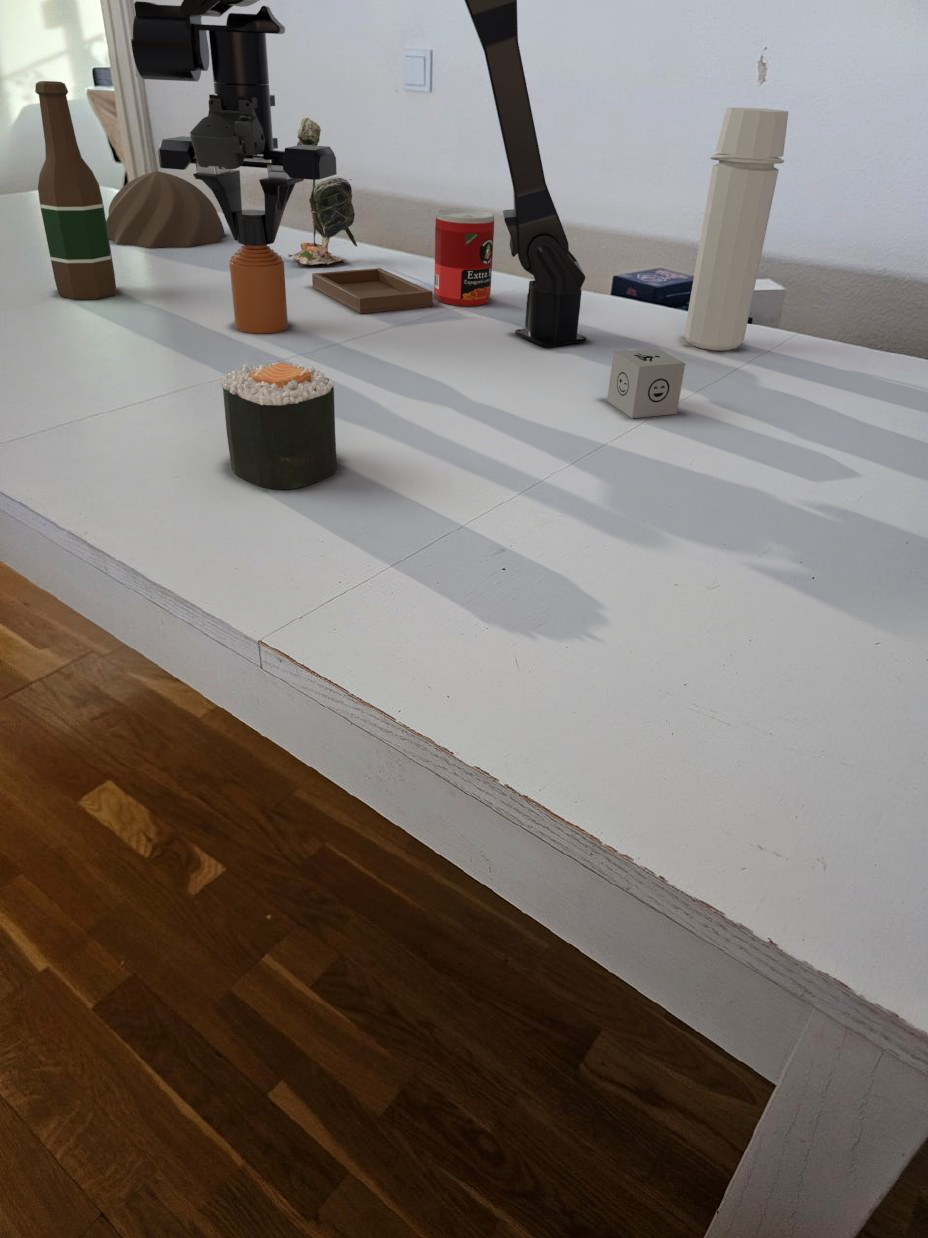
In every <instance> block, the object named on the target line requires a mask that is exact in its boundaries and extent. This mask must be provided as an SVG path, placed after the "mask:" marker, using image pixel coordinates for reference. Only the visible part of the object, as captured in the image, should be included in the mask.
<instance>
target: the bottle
mask: <svg viewBox="0 0 928 1238" xmlns="http://www.w3.org/2000/svg"><path fill="white" fill-rule="evenodd" d="M228 263H229V264H228V265H229V275H230V284H231V293H232V294H231V296H232V305H233V315H234V326H235V329H236V330H237V331H240V332H242V333H248V334H263V335H264V334H274V333H278V332H282V331H285V330H286V329H288V327H289V324H288V323H289V322H288V305H287V291H286V290H287V289H286V275H285V273H286V272H285V260H284V259H283V258H282V256H281V255H279V254H278V252H276V251H275V250H274V249H272V248H271V246H269V245H260V246H251V245H241V246H240V248H239V249H238V250H237V251H236V252H234V253H233V255H231V256H230V259H229V261H228Z"/></svg>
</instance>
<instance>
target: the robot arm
mask: <svg viewBox="0 0 928 1238" xmlns="http://www.w3.org/2000/svg"><path fill="white" fill-rule="evenodd" d="M463 1H464V4H465V6H466V8H467V11H468V14H469V17H470V20H471V22H472V24H473V27H474V29H475V32H476V35H477V38H478V40H479V42H480V45H481V47H482V51H483V53H484V58H485V62H486V67H487V72H488V77H489V82H490V88H491V91H492V95H493V100H494V105H495V110H496V114H497V119H498V125H499V128H500V133H501V139H502V143H503V147H504V151H505V157H506V162H507V165H508V171H509V175H510V180H511V184H512V191H513V192H512V196H513V208H512V209H504V210H502V216H503V221H504V223H505V226H506V228H507V230H508V233H509V236H510V238H509V249H510V254H511V257H513V258H515V257H516V256H517V257H518V260H519V263H520V265H521V267H522V268H523V270H524V271H526V272H527V273H529V275H532V276H533V279H534V280H529V282H528V292H527V295H526V307H525V320H524V321H525V322H524V326H525V328H518V329H514V334H515V335H516V336H519V337H520V338H523V339H525V340H528V341H529V342H532V343H534V344H536V345H538V346H540V347H542V348H543V347H544V348H548V347H557V346H564V345H571V344H578V343H585V342H587V341H588V337H587V336H585V335H583V334H581V333H578V330H579V320H580V311H581V302H582V301H581V300H582V294H583V293H582V291H583V290H582V287H583V285H584V283H585V280H586V275H585V273H584V271H583V269H582V267H581V265H580V263H579V261H578V260H577V258H576V257H575V256H574V255H573V253H572V252H571V251H570V250H569V249H570V247H569V240H568V237H567V235H566V232H565V230H564V227H563V224H562V222H561V219H560V216H559V214H558V211H557V208H556V206H555V203H554V201H553V198H552V196H551V193H550V191H549V188H548V184H547V182H546V178H545V172H544V167H543V162H542V157H541V151H540V147H539V142H538V137H537V131H536V126H535V121H534V116H533V111H532V106H531V100H530V96H529V90H528V85H527V80H526V76H525V70H524V64H523V60H522V55H521V49H520V44H519V33H518V31H519V30H518V25H519V24H518V0H463ZM258 2H260V0H182V2H181V4H180V5H171V4H159V3H155V2H149V1H135V2H134V4H133V6H134V12H135V13H134V14H135V16H134V19H133V24H132V38H131V39H130V41H131V42H130V44H131V50H132V56H133V60H134V64H135V67H136V71H137V72H138V75H139V76H140V78H141V79H143V80H152V81H153V80H156V81H176V82H177V81H178V82H199V81H200V78H201V75H202V72H207V71H209V67H210V59H211V68H212V69H211V71H212V80H213V89H214V90H213V91H214V94H213V93H212V94H208V112H207V113H208V114H207V116H205V117H203V118H202V119H201V120H200V121H199V122H198V123H197V124H196V125H195V126H194V127H193V128H192V129H191V130H190V132H189V136H175V137H169V138H162V139H161V141H160V143H159V146H158V149H157V154H158V164H159V168H161V169H168V170H179V171H180V170H181V171H184V170H185V171H186V170H187V168H188V167H189V166H190V165H191V164H194V165H195V171H196V173H193V174H192V175H193V177H194V179H195V180H200V181H202V182H203V183H204V184H205V185H206V186H207V188H209V189H210V191H211V192H212V193H213V195H214V197H215V199H216V200H217V203H218V205H219V207H220V210H221V212H222V214H223V216H224V218H225V221H226V224H227V225H228V228H229V230H230V232H231V235H232V237H233V239H234V241H235V242H238V240H237V233H236V222H235V217H236V215H235V212H236V211H239V210H243V207H242V189H241V188H242V187H241V171H240V170H239V168H241V167H243V168H244V167H246V168H259V169H267V175H268V176H267V177H264V178H260V179H259V180H258V181H259V184H260V187H261V189H262V192H263V195H264V197H263V198H264V211H265V230H266V237H267V243H268V245H272V244H274V243H275V241H276V238H277V235H278V231H279V228H280V226H281V222H282V219H283V215H284V212H285V210H286V207H287V204H288V202H289V199H290V197H291V195H292V193H293V191H294V188H295V186H296V184H298V183H302V182H303V181H305V180H308V181H309V180H311V181H313V180H315V181H317V180H323V179H326V178H329V177H333V176H337V174H338V173H337V157H336V154H335V152H334V151H333V149H332V148H331V147H330V146H328V145H327V146H326V145H317V146H314V145H303V144H302V145H297V144H296V145H293V146H288V147H285V148H284V150H276V149H279V143H278V142H279V141H278V137H274V136H273V123H272V122H273V121H272V107H276V97H275V94H271V92H270V91H271V90H270V78H269V63H268V62H269V61H268V49H267V34H269V35H270V34H272V35H284V34H285V32H286V27H285V26H284V25H283V23H281V22H280V21H279V20H278V19H277V17H275V15H274V14H273V12H272V10H271V8H270V7H269V6H268V5H262V6H261V7H260V9H259V10H258V12H256V13H242V12H241V13H237V12H230V13H228V15H227V18H226V23H225V25H222V24H204V23H202V17H211V18H212V17H214V18H220V17H222V16H223V15H224V14H226V13H227V12H228V11H229V10H230V9H231V8H233V7H239V8H242V7H243V8H244V7H245V8H246V7H250V6H252V5H254V4H256V3H258ZM207 31H208V35H207ZM208 37H209V38H208ZM208 39H209V41H208Z"/></svg>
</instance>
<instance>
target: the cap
mask: <svg viewBox="0 0 928 1238" xmlns="http://www.w3.org/2000/svg"><path fill="white" fill-rule="evenodd" d="M235 215H236V217H235V222H236V233H237V240H238V241H237V243H238V244H240V245H242V246H244V245H251V246H260V245H267V246H269V244H268V243H267V237H266V230H265V209H264V210H263V209H242V210H239V211H236V212H235Z"/></svg>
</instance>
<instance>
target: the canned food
mask: <svg viewBox="0 0 928 1238" xmlns="http://www.w3.org/2000/svg"><path fill="white" fill-rule="evenodd" d="M494 237H495V214H494V213H492V212H490V211H486V210H482V209H476V208H475V209H474V208H443V209H439V210H437V211H436V213H435V226H434V281H433V283H434V284H433V285H434V286H433V290H434V291H433V292H434V297H435V299H436V300H437V301H438V302H440V303H442V304H446V305H450V306H451V305H452V306H458V307H475V306H481V305H485V304H486V303H488V302H489V300H490V297H491V290H492V271H493V258H494V257H493V256H494V255H493V254H494V240H495V239H494Z"/></svg>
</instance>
